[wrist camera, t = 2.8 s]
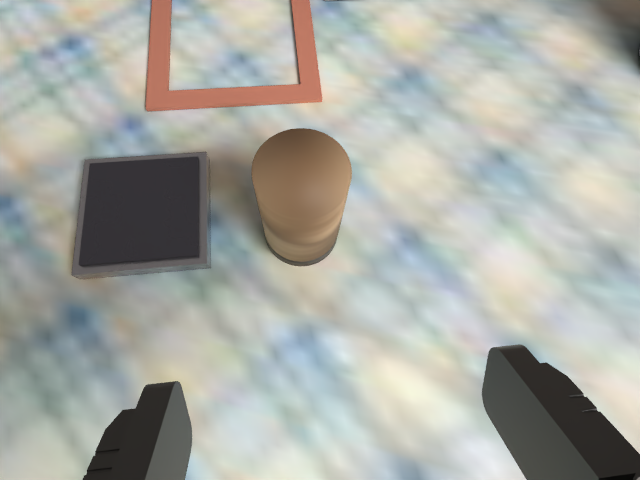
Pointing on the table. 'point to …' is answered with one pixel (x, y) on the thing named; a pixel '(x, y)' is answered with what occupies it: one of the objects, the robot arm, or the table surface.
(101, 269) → the ink pad
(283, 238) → the stamp
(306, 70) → the marked square
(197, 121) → the table surface
